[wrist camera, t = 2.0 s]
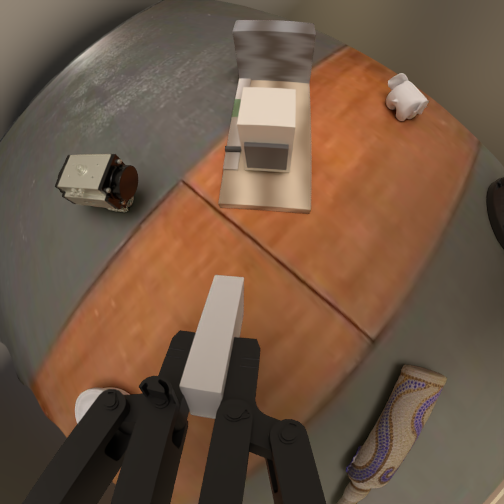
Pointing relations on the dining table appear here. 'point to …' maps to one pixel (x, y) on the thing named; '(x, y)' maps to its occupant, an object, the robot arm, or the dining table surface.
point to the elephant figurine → (405, 98)
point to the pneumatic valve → (98, 181)
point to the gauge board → (295, 77)
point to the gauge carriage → (266, 128)
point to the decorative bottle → (393, 432)
